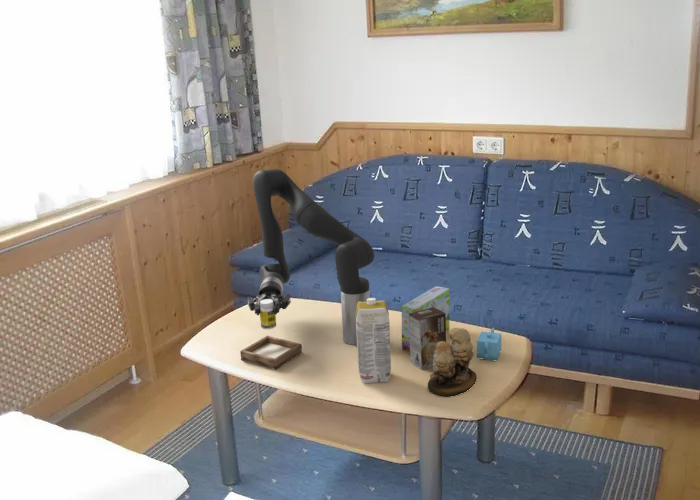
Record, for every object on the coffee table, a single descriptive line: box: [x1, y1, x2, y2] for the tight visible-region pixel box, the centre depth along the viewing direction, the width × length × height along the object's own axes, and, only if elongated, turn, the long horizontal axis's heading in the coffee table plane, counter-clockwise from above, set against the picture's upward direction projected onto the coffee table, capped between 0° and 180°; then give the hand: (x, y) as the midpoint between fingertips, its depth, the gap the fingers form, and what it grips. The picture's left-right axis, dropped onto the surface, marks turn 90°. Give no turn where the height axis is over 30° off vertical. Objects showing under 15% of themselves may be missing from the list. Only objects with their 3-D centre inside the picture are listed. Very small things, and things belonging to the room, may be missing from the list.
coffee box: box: [409, 307, 447, 370], centre depth 215 cm, size 9×6×16 cm
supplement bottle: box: [259, 299, 277, 330], centre depth 222 cm, size 5×5×8 cm
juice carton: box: [356, 297, 392, 384], centre depth 206 cm, size 9×8×24 cm
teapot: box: [476, 327, 502, 361], centre depth 219 cm, size 12×6×8 cm, turn 159°
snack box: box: [401, 285, 451, 353], centre depth 230 cm, size 21×6×15 cm, turn 143°
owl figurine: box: [427, 327, 478, 398], centre depth 202 cm, size 18×12×17 cm, turn 142°
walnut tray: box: [239, 335, 303, 370], centre depth 226 cm, size 14×13×3 cm
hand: (266, 311), depth 219 cm, fingers closed on supplement bottle, 4 cm apart
